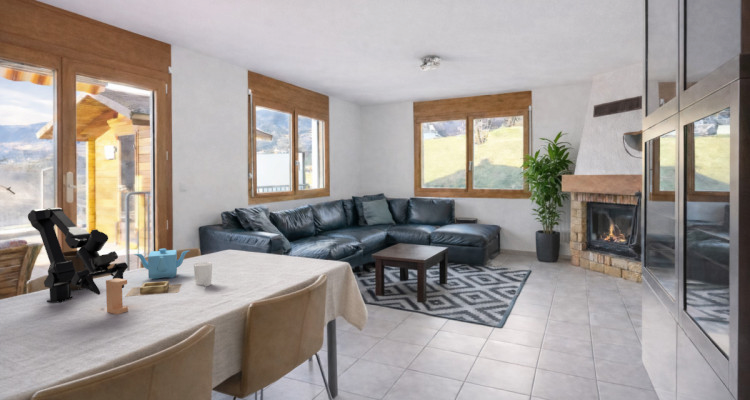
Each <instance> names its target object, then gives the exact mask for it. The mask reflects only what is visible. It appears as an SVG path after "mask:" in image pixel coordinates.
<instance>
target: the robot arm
mask: <svg viewBox="0 0 750 400" xmlns="http://www.w3.org/2000/svg"><path fill="white" fill-rule="evenodd" d="M27 219H28V221H29V223H30V225H31V227H32V228H33V229H35V230H36V231H38V233H39V235H40V238H41V239H42V240H41V241H42V244H43V246H44V250H45V252H46V255H47V258H48V260H49V263H50V264H49V267H48V270H47V274H48V275H47V276H46V278H44V281H43V284H44V288H49V299H46V302H50V303H62V302H65V301H68V300H72V299H74V297H75V296H73V295H72V292H71V291H72V290H71V287H70V284H71V283H72V284H73V286H78V287H83V289H86V290H88V291H90V292H92V293H94V294H96V295H98V296H99V295H101V291H100V289H99V287H98V286H97V284H96V283H95V281H94V278H96V277H101V276H105V275H109V274H110V275H111V277H112V279H115V278H119V279H124V274H125V272H126V271H127V269H128V267H129V265H128V263H127V262H126V261H125V262H123V261H121V262H117V263H114V262H115V260H118V258H119V255H118V254H117V252H116V251H115V250H114V251H110V252H108V253H106V254H100V253H99V252H100V251H101V250H102V249H103V247H104V245H106V243H107V242H108V240H109V236H108V234H106V233H104V232H102V231H99V229H98V228H97V229H92V230H91V231H90V232H89V231H87V230H85V229H84V228H81V227H78V226H77V225H76V224H75V223H74V222H73V221H72V220H71V218H70V217H69V216H68V215H67V214H66V213H65V212H64V209H63V208H61V207H50V208H49V207H48V208H42V209H32V210H30V212H28V214H27ZM55 226H56V227H57V228H58V230H60V232H62V233H63V235H64V236H65V239H64V241H65V243H66V244H67V246H68V247H69V248H70V249H71V250H72V249H78V250H79V251H77V254H76V258H81V260H82V261H83V263H84V264H85V265H84V269H88V270H83V271H78V272H76V271H75V268H74V266H73V262H72V261H67V260H66V259H65V258H64V255H63V252H64V251H63V249H62V247H61V244H60V241H59V239H58V235H57V233H56V230H55ZM111 263H114V265H113V266H112V267H110V266H111ZM109 267H110V268H109ZM124 288H125V285H122V289H124Z"/></svg>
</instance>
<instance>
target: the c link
mask: <svg viewBox="0 0 750 400" xmlns="http://www.w3.org/2000/svg"><path fill="white" fill-rule="evenodd" d="M127 284H128V279H125V278H123V279H119V278H115V279H113V278H111V279H108V280H105V289H106V290H105V291H106V292H105V293H106V294H105V295H106V312H107V313H111V314H114V315H121V314H123V313H125V312H128V311H129V307H128V306H125V305H124V304H123V288H122V285H124V286H125V285H127Z"/></svg>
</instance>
